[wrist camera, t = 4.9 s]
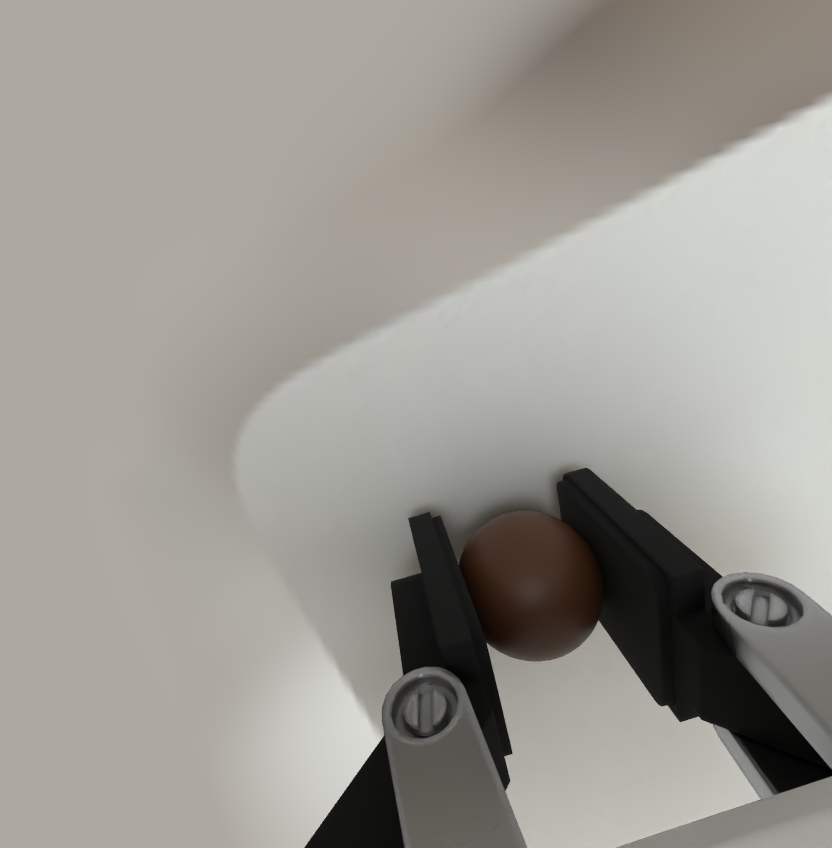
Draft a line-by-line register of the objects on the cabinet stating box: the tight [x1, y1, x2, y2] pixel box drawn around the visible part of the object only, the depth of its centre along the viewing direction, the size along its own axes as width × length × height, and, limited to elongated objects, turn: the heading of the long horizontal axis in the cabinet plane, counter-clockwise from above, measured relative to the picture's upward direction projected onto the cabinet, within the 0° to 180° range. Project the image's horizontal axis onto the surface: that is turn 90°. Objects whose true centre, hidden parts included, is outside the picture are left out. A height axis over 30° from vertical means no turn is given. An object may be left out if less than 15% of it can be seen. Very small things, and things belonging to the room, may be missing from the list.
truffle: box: [459, 511, 604, 661], centre depth 10 cm, size 3×3×3 cm
